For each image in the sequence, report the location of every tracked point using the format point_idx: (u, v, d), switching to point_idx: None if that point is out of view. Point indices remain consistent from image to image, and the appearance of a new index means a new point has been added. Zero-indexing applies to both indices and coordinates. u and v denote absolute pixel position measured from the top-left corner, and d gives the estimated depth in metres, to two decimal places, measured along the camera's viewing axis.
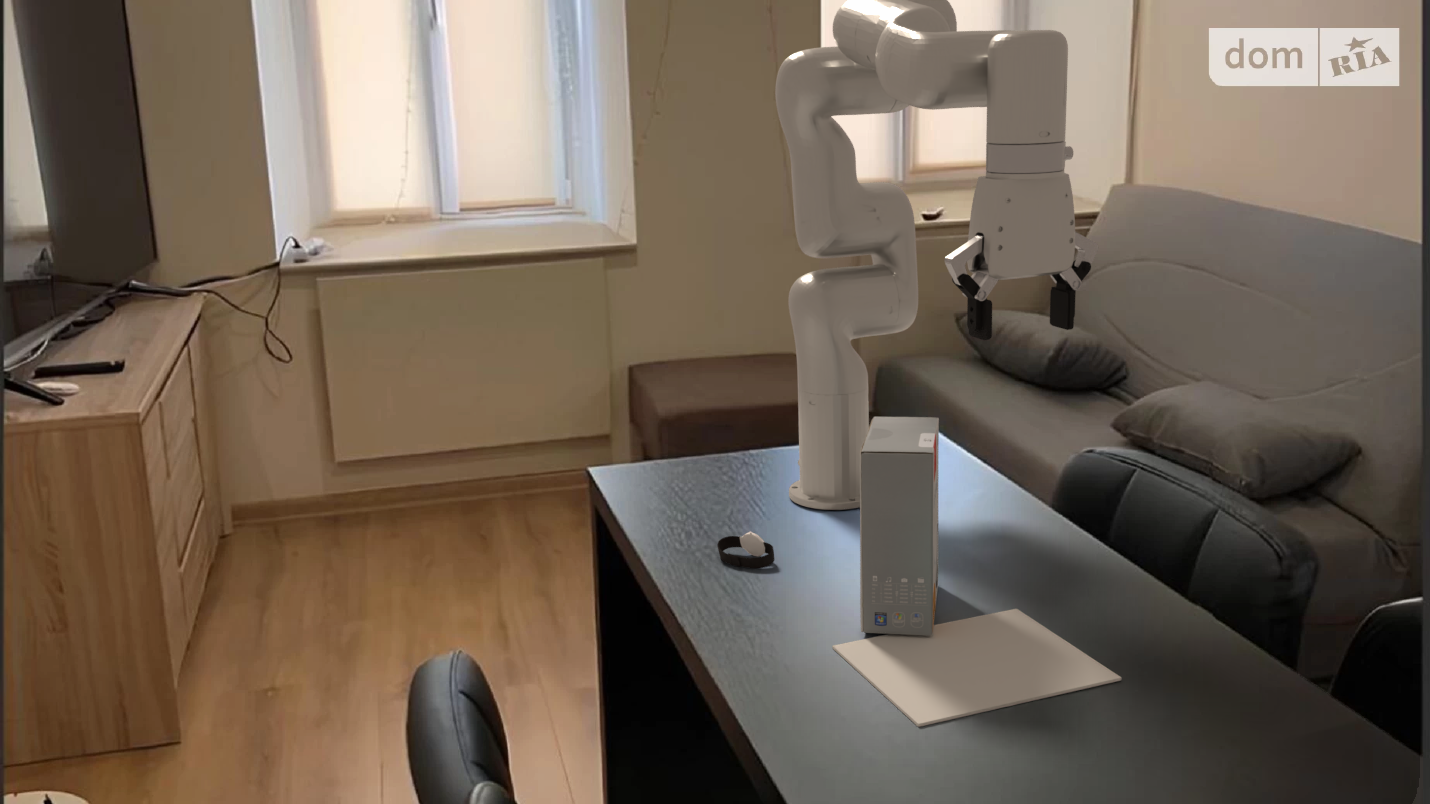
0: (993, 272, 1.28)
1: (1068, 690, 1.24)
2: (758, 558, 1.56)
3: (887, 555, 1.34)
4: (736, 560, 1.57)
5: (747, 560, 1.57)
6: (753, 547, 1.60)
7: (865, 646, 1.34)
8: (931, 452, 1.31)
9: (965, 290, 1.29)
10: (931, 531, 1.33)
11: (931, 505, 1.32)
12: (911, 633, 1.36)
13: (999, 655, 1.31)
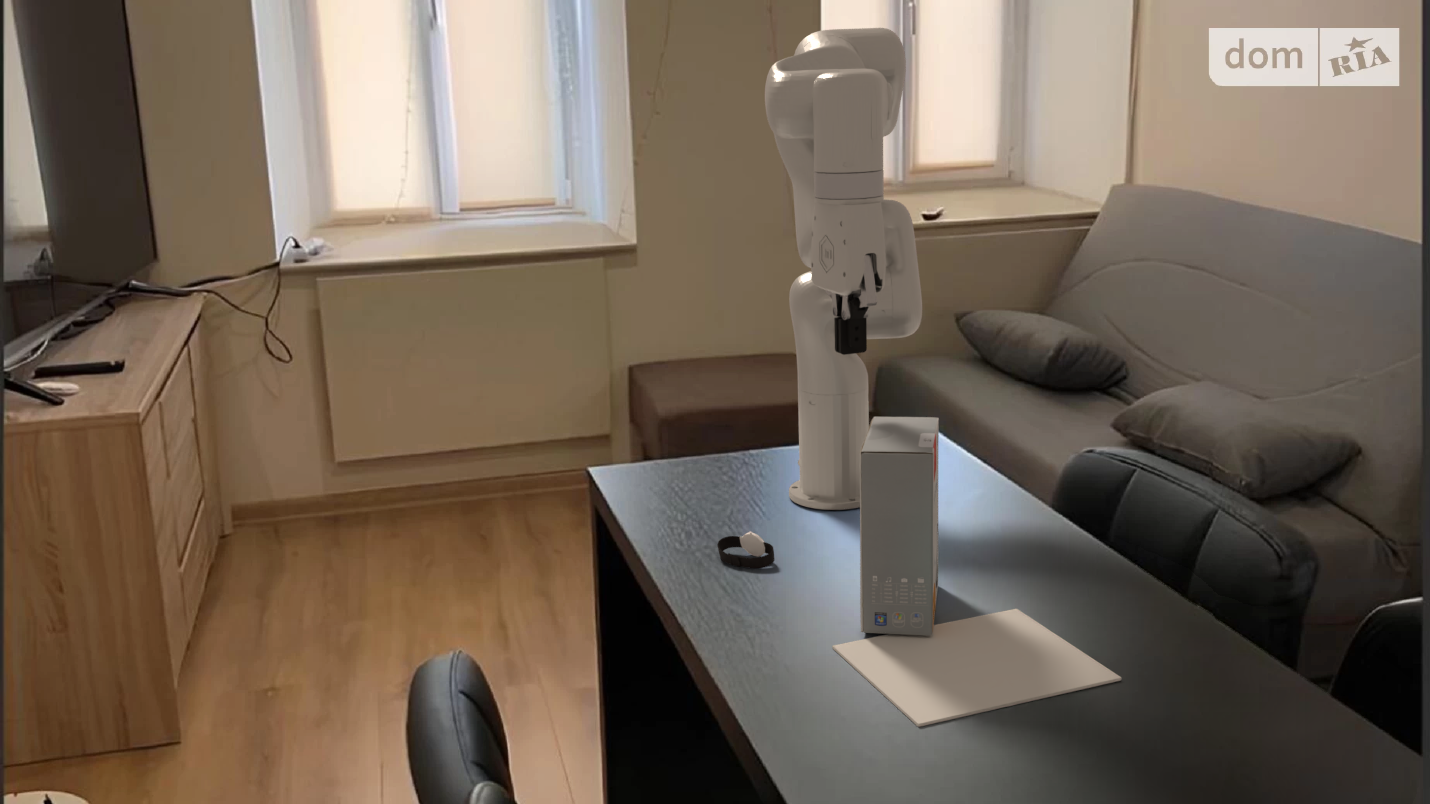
0: (883, 285, 1.42)
1: (1068, 690, 1.24)
2: (758, 558, 1.56)
3: (887, 555, 1.34)
4: (736, 560, 1.57)
5: (747, 560, 1.57)
6: (753, 547, 1.60)
7: (865, 646, 1.34)
8: (931, 452, 1.31)
9: (863, 311, 1.44)
10: (931, 531, 1.33)
11: (931, 505, 1.32)
12: (911, 633, 1.36)
13: (999, 655, 1.31)
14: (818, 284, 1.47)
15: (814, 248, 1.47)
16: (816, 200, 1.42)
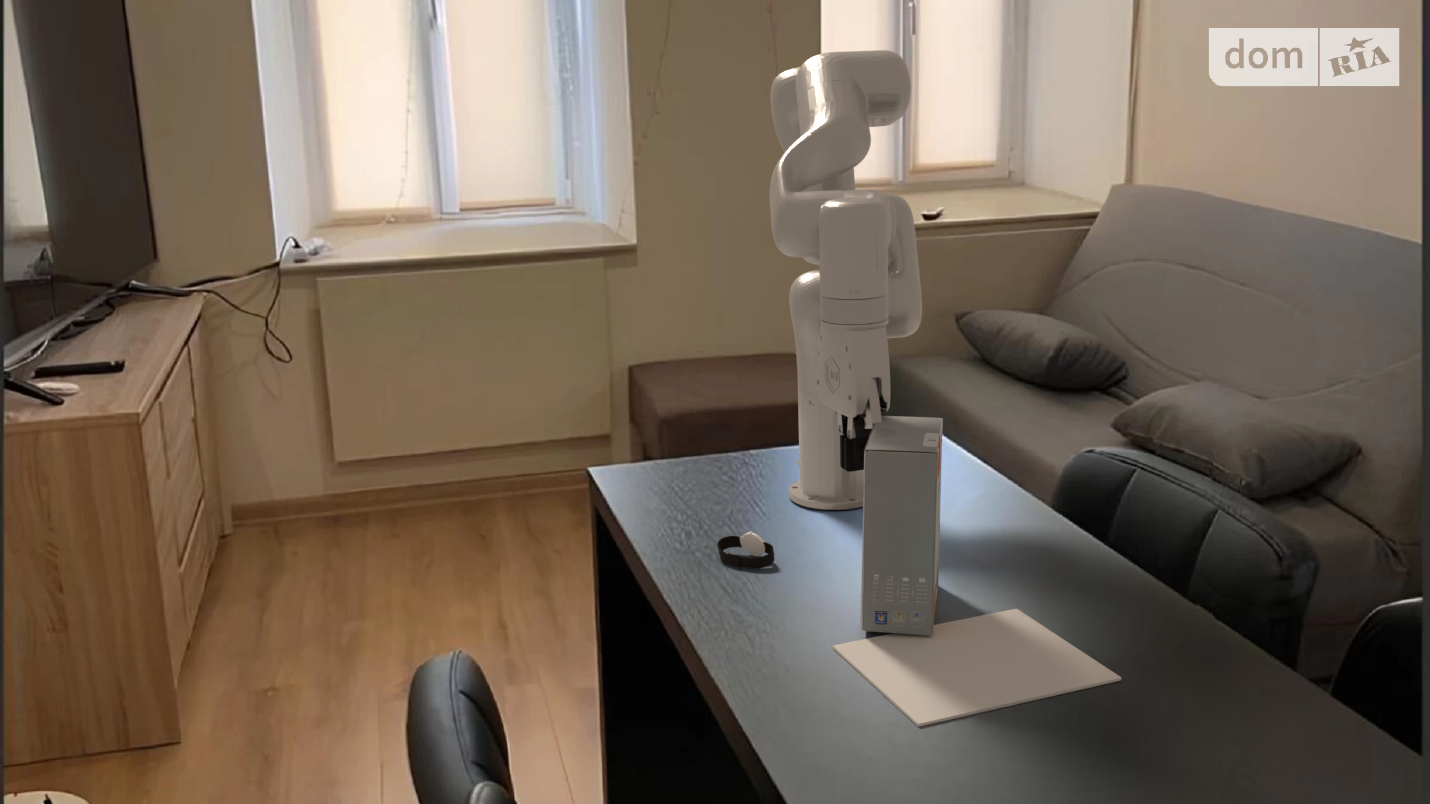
0: (888, 407, 1.44)
1: (1068, 690, 1.24)
2: (758, 558, 1.56)
3: (889, 554, 1.34)
4: (736, 560, 1.57)
5: (747, 560, 1.57)
6: (753, 547, 1.60)
7: (865, 646, 1.34)
8: (936, 452, 1.31)
9: (868, 431, 1.47)
10: (934, 531, 1.33)
11: (934, 505, 1.32)
12: (911, 632, 1.36)
13: (999, 655, 1.31)
14: (824, 402, 1.49)
15: (820, 366, 1.49)
16: (822, 323, 1.45)
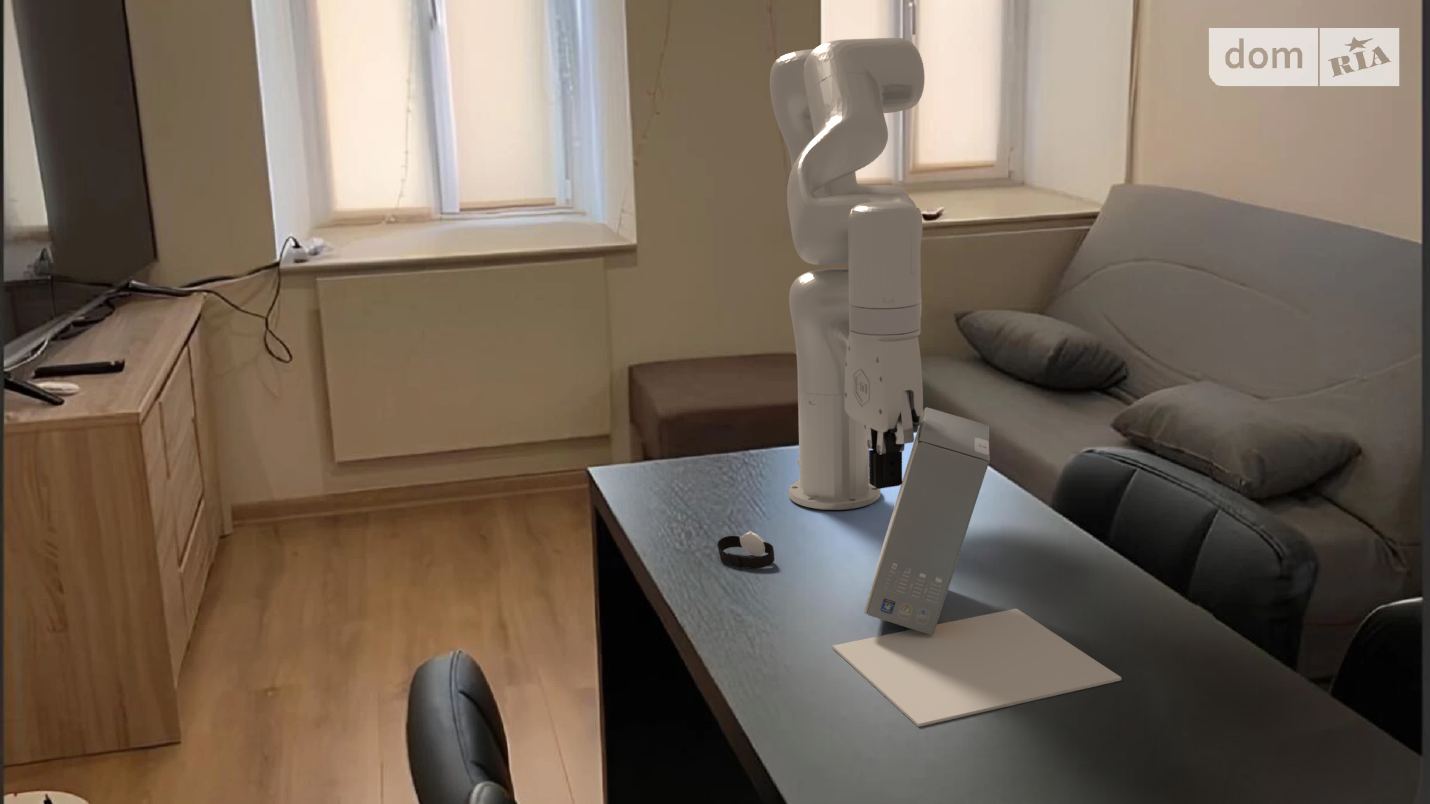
0: (920, 421, 1.38)
1: (1068, 690, 1.24)
2: (758, 558, 1.56)
3: (914, 547, 1.34)
4: (736, 560, 1.57)
5: (747, 560, 1.57)
6: (753, 546, 1.60)
7: (865, 646, 1.34)
8: (987, 460, 1.30)
9: (899, 446, 1.40)
10: (963, 535, 1.32)
11: (971, 511, 1.32)
12: (913, 628, 1.35)
13: (999, 655, 1.31)
14: (852, 416, 1.43)
15: (848, 378, 1.43)
16: (851, 333, 1.38)
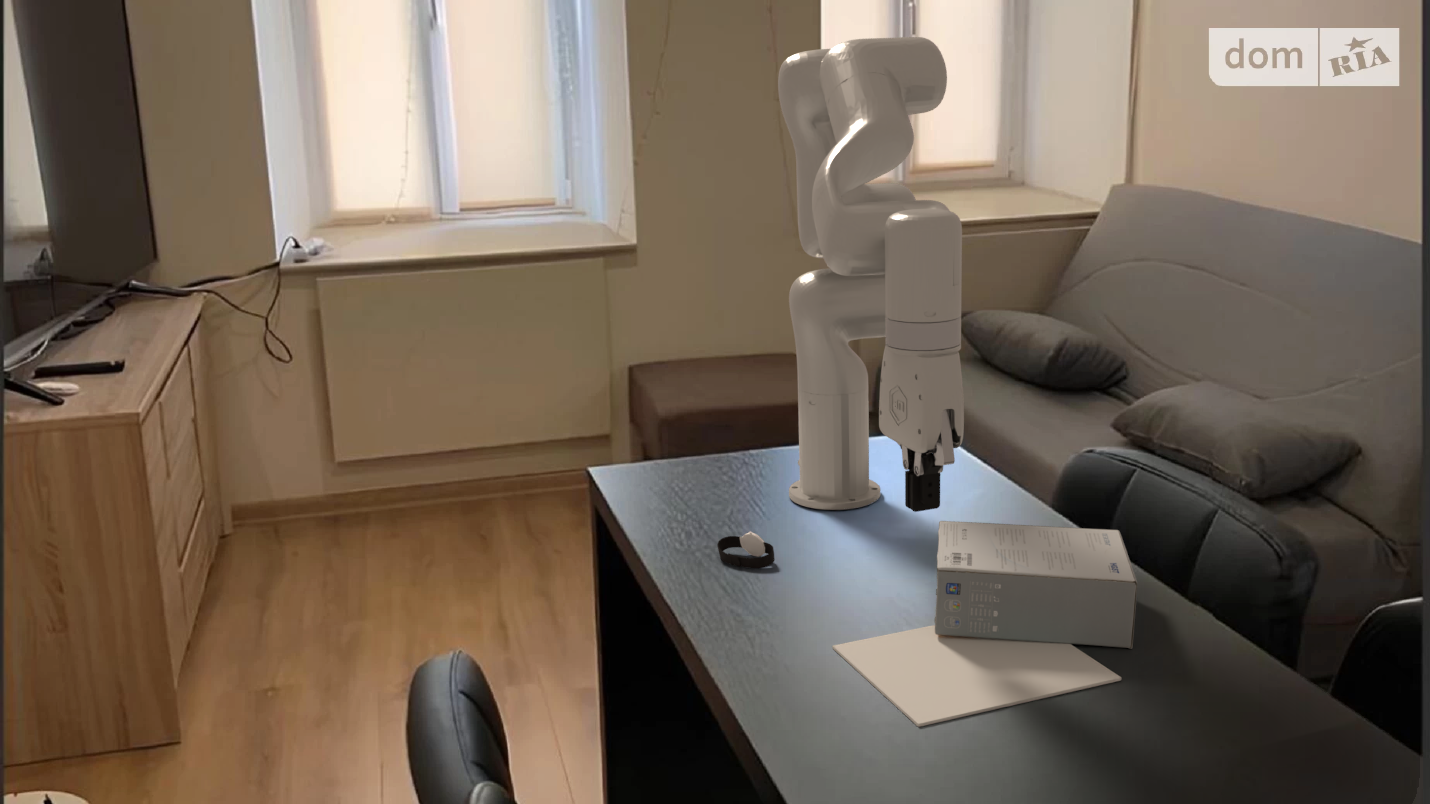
0: (961, 442, 1.30)
1: (1068, 690, 1.24)
2: (758, 558, 1.56)
3: (1022, 600, 1.33)
4: (736, 560, 1.57)
5: (747, 560, 1.57)
6: (753, 547, 1.60)
7: (865, 646, 1.34)
8: (1131, 646, 1.32)
9: (938, 467, 1.33)
10: (1047, 641, 1.33)
11: (1075, 643, 1.33)
12: (937, 616, 1.35)
13: (999, 655, 1.31)
14: (887, 435, 1.35)
15: (883, 395, 1.35)
16: (888, 348, 1.31)
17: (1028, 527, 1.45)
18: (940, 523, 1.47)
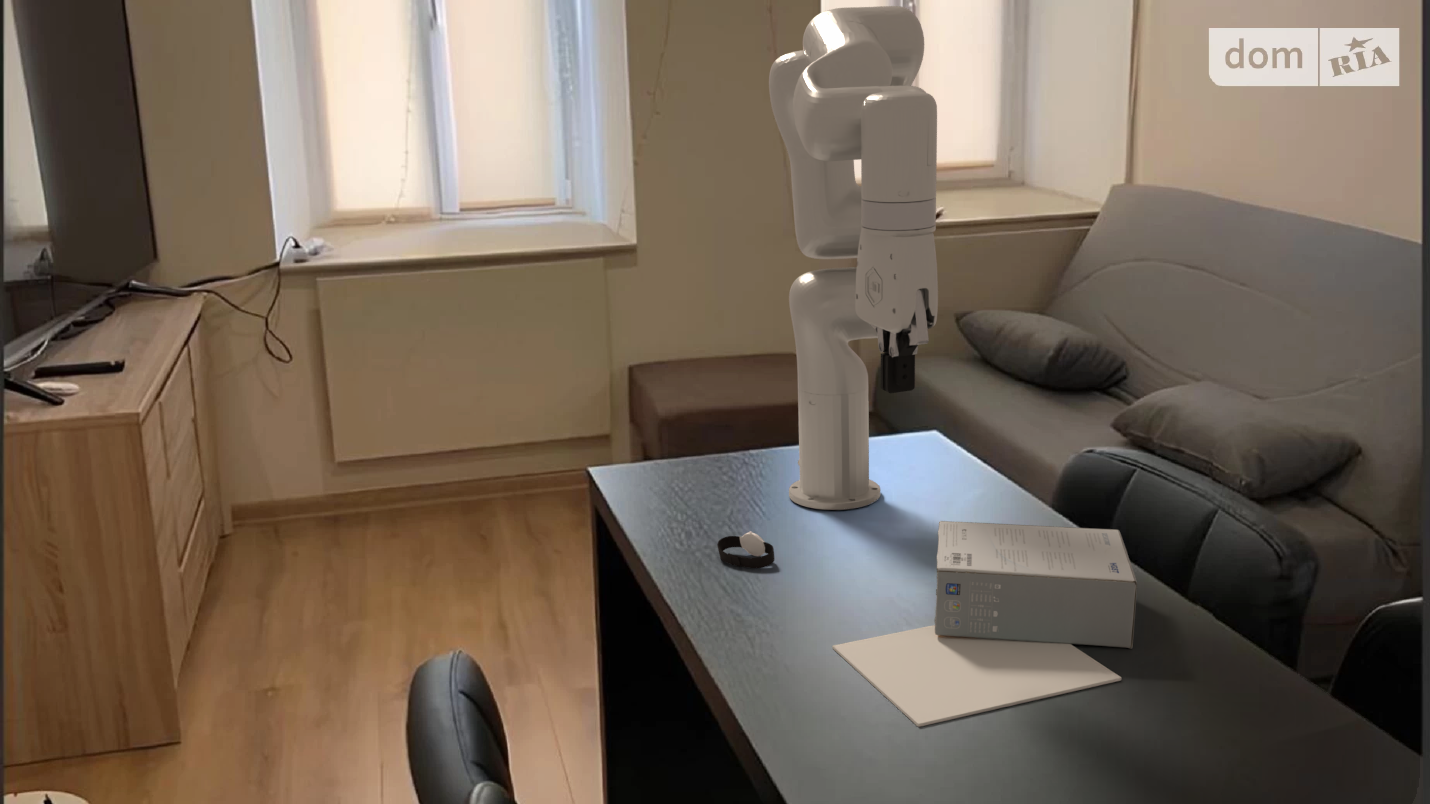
0: (935, 322, 1.33)
1: (1068, 690, 1.24)
2: (758, 558, 1.56)
3: (1022, 600, 1.33)
4: (736, 560, 1.57)
5: (747, 560, 1.57)
6: (753, 547, 1.60)
7: (865, 646, 1.34)
8: (1131, 646, 1.32)
9: (912, 348, 1.35)
10: (1047, 641, 1.33)
11: (1075, 643, 1.33)
12: (937, 616, 1.35)
13: (999, 655, 1.31)
14: (863, 318, 1.37)
15: (859, 279, 1.37)
16: (863, 230, 1.33)
17: (1028, 527, 1.45)
18: (940, 523, 1.47)
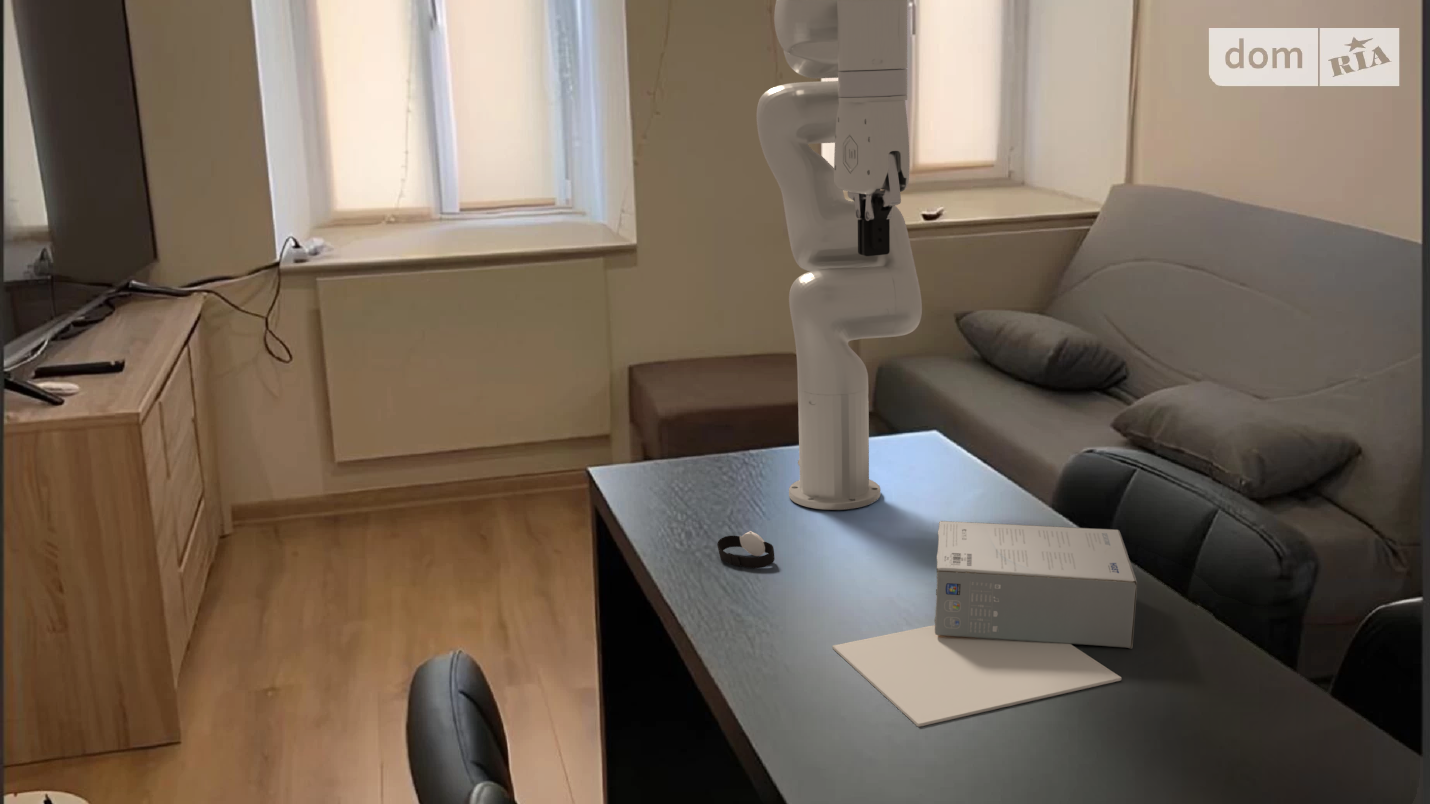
0: (907, 184, 1.43)
1: (1068, 690, 1.24)
2: (758, 557, 1.56)
3: (1022, 600, 1.33)
4: (736, 559, 1.57)
5: (747, 559, 1.57)
6: (753, 546, 1.60)
7: (865, 646, 1.34)
8: (1131, 646, 1.32)
9: (886, 211, 1.45)
10: (1047, 641, 1.33)
11: (1075, 643, 1.33)
12: (937, 616, 1.35)
13: (999, 655, 1.31)
14: (841, 186, 1.47)
15: (837, 150, 1.47)
16: (840, 100, 1.43)
17: (1028, 527, 1.45)
18: (940, 523, 1.47)
